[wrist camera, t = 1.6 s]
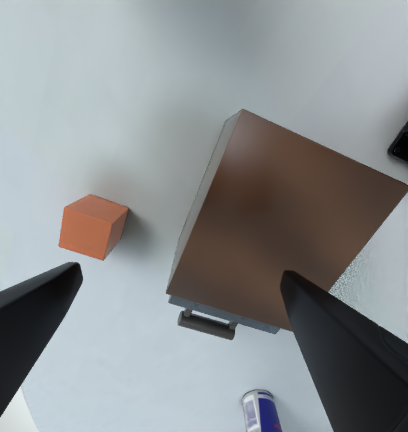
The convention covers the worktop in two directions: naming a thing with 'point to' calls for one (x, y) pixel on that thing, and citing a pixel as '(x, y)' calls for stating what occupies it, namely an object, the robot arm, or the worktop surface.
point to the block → (92, 226)
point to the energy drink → (260, 412)
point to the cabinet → (275, 219)
